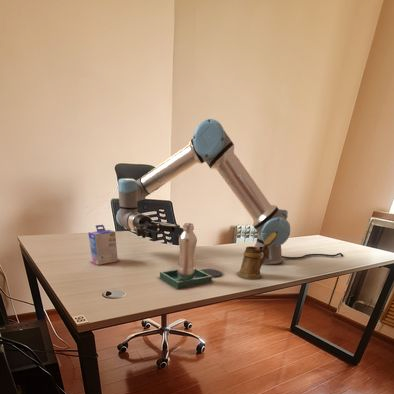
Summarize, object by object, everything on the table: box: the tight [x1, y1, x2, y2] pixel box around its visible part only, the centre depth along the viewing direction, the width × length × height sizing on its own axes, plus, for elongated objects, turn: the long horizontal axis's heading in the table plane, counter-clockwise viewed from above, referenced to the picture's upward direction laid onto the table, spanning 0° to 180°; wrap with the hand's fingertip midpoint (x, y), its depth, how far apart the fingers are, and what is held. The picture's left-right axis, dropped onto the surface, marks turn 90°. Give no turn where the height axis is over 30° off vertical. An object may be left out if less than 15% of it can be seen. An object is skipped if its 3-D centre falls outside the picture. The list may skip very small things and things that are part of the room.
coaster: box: [200, 268, 223, 278], centre depth 126 cm, size 9×9×1 cm
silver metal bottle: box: [176, 222, 198, 280], centre depth 111 cm, size 6×7×20 cm
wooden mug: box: [238, 231, 278, 280], centre depth 122 cm, size 9×14×18 cm, turn 101°
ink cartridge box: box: [87, 224, 119, 266], centre depth 126 cm, size 10×6×14 cm, turn 137°
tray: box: [159, 267, 213, 290], centre depth 116 cm, size 16×13×2 cm
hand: (171, 234), depth 115 cm, fingers open, 13 cm apart
